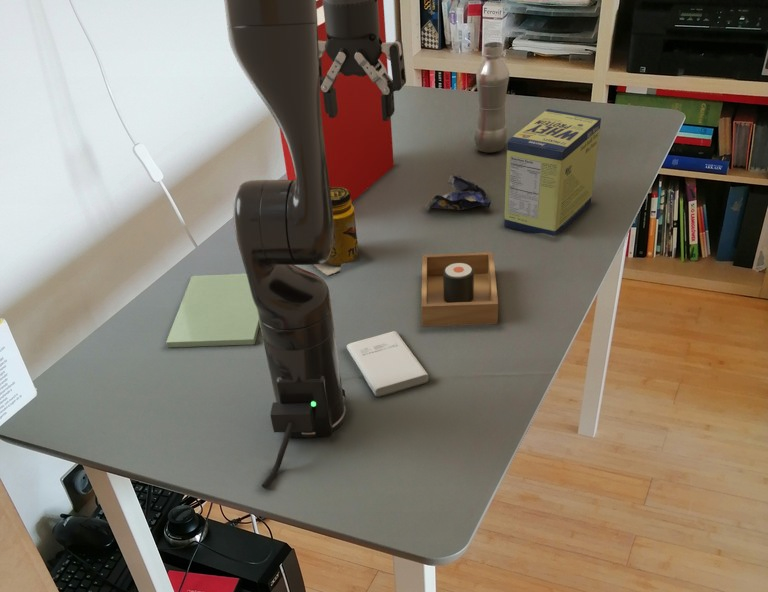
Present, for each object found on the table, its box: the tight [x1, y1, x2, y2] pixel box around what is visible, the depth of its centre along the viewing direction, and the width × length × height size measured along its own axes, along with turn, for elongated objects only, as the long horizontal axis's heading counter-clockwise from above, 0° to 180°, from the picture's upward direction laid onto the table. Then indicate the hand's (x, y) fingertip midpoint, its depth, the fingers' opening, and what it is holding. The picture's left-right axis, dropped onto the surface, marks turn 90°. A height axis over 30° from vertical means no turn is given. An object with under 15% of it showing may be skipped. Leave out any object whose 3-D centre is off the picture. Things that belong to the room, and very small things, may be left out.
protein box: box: [503, 108, 602, 237], centre depth 144 cm, size 10×16×16 cm
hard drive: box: [346, 330, 429, 398], centre depth 121 cm, size 2×8×12 cm
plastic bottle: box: [474, 41, 510, 153], centre depth 164 cm, size 6×7×20 cm
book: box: [278, 0, 395, 203], centre depth 151 cm, size 27×8×32 cm, turn 151°
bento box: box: [420, 251, 499, 327], centre depth 130 cm, size 16×12×4 cm
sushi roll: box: [443, 263, 474, 303], centre depth 130 cm, size 5×5×5 cm
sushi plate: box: [165, 273, 260, 348], centre depth 135 cm, size 20×14×1 cm
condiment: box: [313, 187, 359, 276], centre depth 140 cm, size 7×8×12 cm
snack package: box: [424, 173, 492, 213], centre depth 153 cm, size 12×6×12 cm
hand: (360, 117), depth 123 cm, fingers open, 8 cm apart
